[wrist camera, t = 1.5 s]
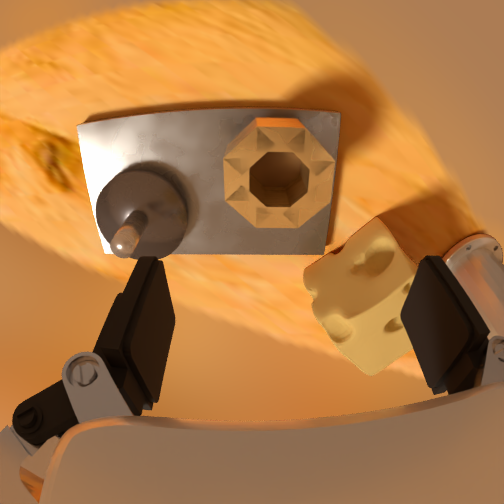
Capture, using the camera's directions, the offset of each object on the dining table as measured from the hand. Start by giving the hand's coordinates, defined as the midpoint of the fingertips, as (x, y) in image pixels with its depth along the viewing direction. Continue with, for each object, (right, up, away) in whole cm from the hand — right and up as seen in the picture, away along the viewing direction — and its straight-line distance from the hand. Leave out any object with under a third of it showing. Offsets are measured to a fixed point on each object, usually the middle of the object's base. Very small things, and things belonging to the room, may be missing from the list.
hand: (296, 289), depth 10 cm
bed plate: (-6, +8, +17) cm, 19 cm away
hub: (-12, +6, +18) cm, 22 cm away
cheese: (+11, 0, +22) cm, 25 cm away
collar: (0, +8, +11) cm, 14 cm away
